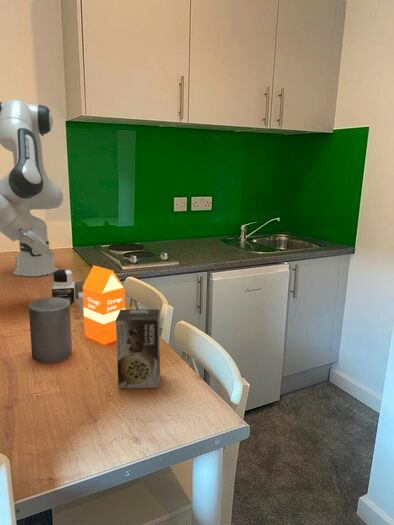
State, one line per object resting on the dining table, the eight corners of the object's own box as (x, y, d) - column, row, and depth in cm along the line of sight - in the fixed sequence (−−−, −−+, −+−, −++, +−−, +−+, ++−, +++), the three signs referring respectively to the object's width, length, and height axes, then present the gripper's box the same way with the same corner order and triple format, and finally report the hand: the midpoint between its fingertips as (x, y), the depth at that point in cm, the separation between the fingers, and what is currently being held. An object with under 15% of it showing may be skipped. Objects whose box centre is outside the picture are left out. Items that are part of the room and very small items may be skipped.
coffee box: (160, 373, 91) (160, 308, 88) (159, 389, 85) (159, 319, 81) (121, 373, 91) (120, 308, 87) (116, 388, 85) (115, 319, 81)
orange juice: (106, 327, 117) (104, 262, 112) (126, 336, 111) (124, 268, 107) (84, 336, 111) (81, 267, 106) (103, 345, 105) (101, 273, 101)
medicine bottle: (52, 308, 131) (50, 273, 129) (54, 301, 138) (52, 268, 135) (75, 306, 133) (73, 272, 130) (75, 300, 140) (73, 267, 137)
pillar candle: (25, 353, 100) (21, 297, 96) (62, 342, 106) (59, 289, 103) (42, 367, 93) (37, 308, 89) (79, 355, 100) (77, 299, 96)
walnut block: (70, 295, 145) (70, 282, 144) (83, 293, 148) (82, 280, 147) (77, 299, 141) (76, 285, 140) (89, 296, 145) (89, 283, 144)
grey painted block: (78, 306, 134) (78, 292, 133) (93, 305, 136) (93, 291, 135) (79, 311, 129) (79, 297, 128) (95, 310, 131) (94, 295, 130)
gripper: (29, 224, 115) (65, 254, 122) (22, 216, 132) (54, 243, 139) (13, 240, 114) (51, 269, 121) (8, 230, 131) (41, 256, 138)
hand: (52, 255), depth 130 cm, fingers closed
